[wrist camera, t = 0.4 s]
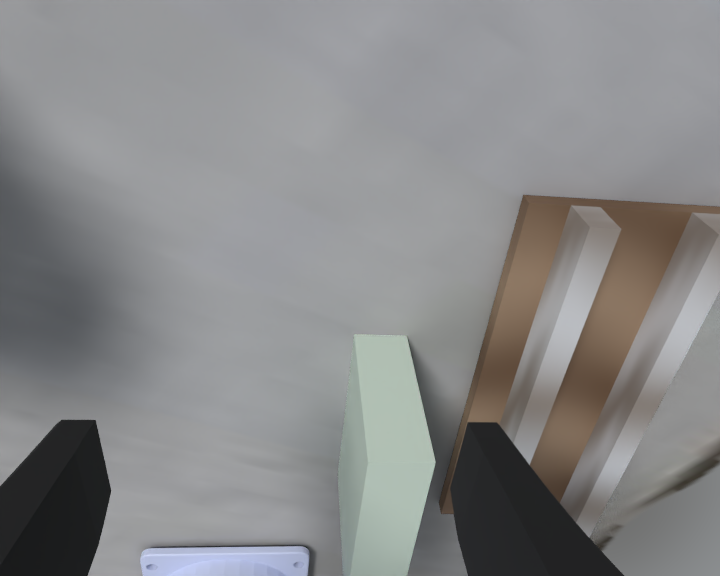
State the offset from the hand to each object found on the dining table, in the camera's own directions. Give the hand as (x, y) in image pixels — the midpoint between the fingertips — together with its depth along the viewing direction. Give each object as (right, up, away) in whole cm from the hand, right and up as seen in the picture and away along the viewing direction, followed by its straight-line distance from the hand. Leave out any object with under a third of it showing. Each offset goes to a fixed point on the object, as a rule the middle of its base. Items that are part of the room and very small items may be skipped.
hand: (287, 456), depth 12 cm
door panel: (+2, -2, +12) cm, 13 cm away
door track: (+10, 0, +12) cm, 16 cm away
